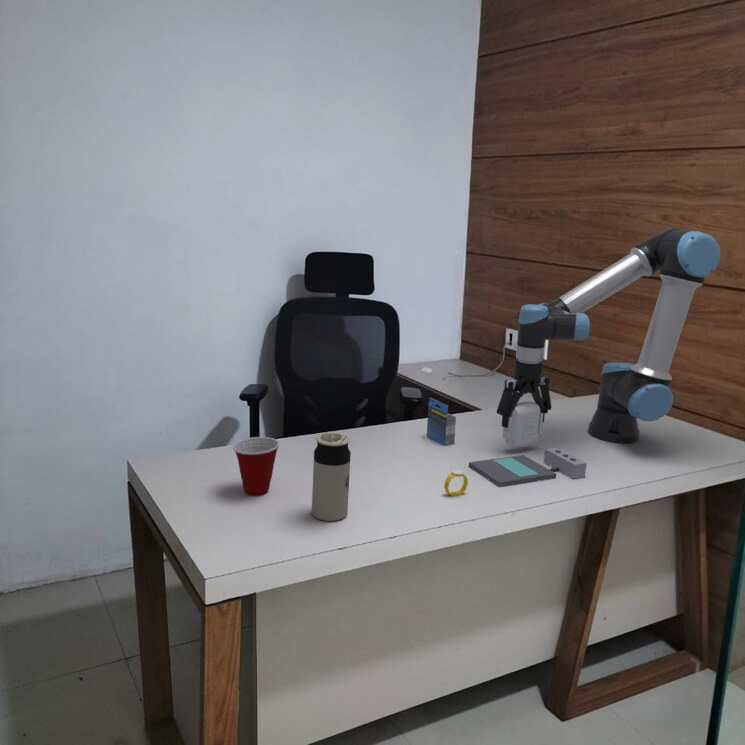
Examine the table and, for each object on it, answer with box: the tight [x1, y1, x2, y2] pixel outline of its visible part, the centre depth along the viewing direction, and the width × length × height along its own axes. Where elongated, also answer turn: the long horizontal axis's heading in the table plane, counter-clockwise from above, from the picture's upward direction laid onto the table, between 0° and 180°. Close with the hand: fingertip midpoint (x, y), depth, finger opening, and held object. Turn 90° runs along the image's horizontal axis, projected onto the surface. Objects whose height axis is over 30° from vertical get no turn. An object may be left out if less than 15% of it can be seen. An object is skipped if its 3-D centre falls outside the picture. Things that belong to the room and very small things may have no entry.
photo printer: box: [504, 401, 540, 448], centre depth 203 cm, size 10×4×12 cm, turn 123°
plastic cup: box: [232, 436, 280, 497], centre depth 166 cm, size 11×11×12 cm
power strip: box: [543, 447, 587, 479], centre depth 191 cm, size 9×12×4 cm
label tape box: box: [426, 397, 457, 446], centre depth 207 cm, size 9×4×12 cm, turn 34°
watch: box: [443, 469, 469, 497], centre depth 172 cm, size 6×3×6 cm, turn 118°
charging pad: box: [468, 454, 557, 488], centre depth 188 cm, size 18×14×1 cm
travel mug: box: [311, 431, 352, 522], centre depth 156 cm, size 8×8×18 cm
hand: (521, 435), depth 204 cm, fingers closed on photo printer, 10 cm apart
